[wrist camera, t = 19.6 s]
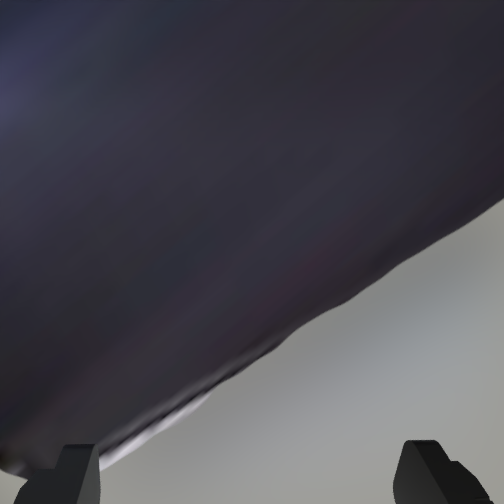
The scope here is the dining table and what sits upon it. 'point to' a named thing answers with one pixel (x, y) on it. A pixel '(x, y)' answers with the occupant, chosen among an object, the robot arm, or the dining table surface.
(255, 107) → the dining table surface
